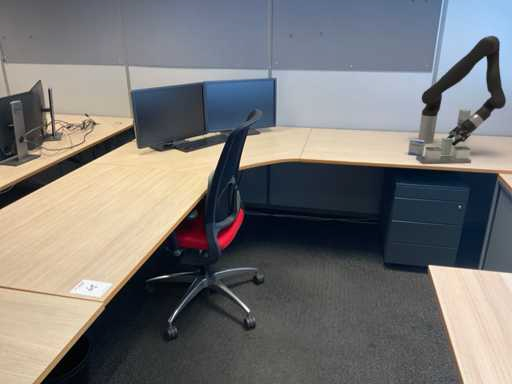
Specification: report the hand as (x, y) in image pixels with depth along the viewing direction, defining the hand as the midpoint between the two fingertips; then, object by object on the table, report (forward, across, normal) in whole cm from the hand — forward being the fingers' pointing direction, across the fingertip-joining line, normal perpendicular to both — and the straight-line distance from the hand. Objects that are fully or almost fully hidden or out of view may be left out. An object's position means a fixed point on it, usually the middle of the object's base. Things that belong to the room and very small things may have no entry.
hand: (449, 143), depth 247 cm
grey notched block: (+10, +12, -1) cm, 16 cm away
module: (+6, 0, +4) cm, 7 cm away
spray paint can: (-10, -29, +20) cm, 37 cm away
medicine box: (+18, -1, -8) cm, 20 cm away
